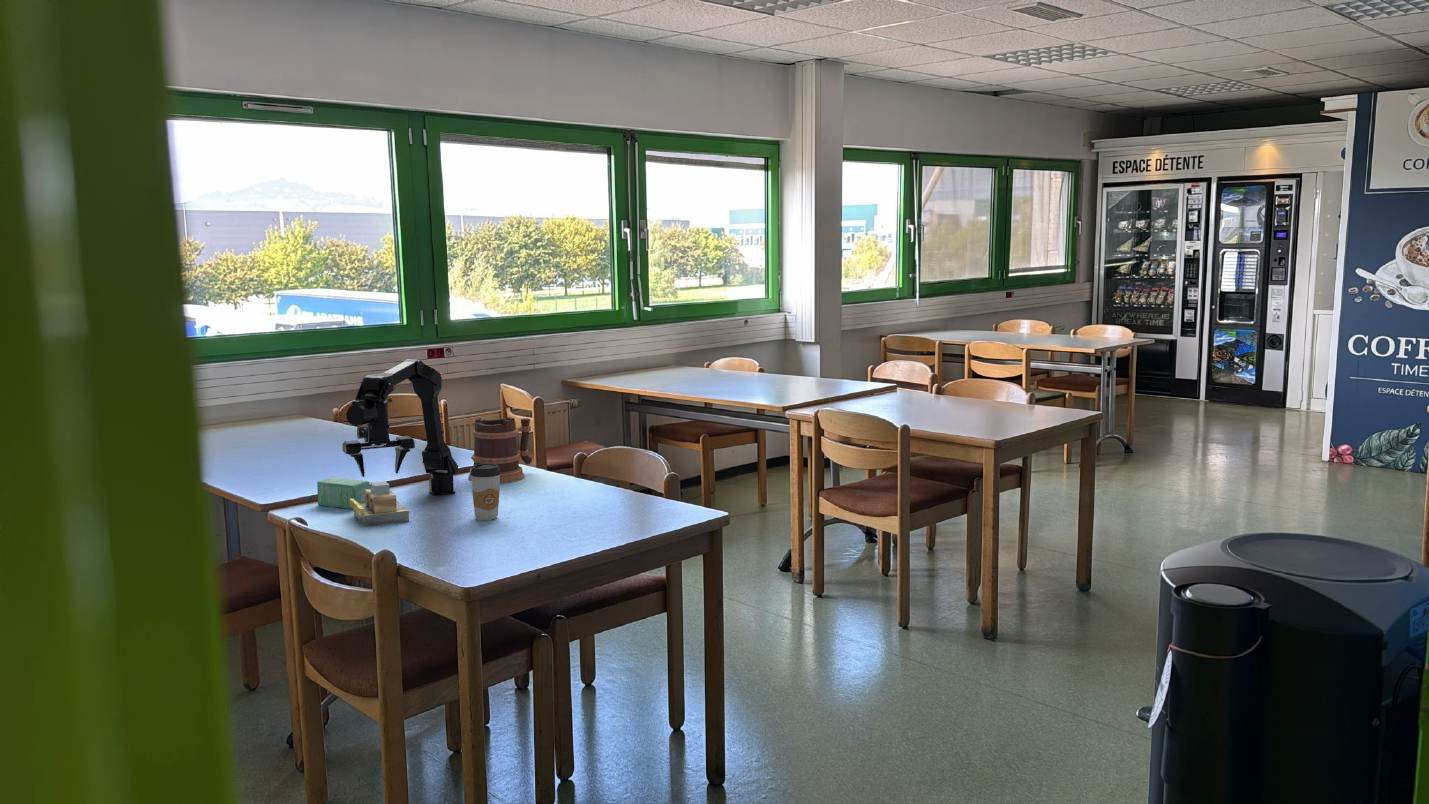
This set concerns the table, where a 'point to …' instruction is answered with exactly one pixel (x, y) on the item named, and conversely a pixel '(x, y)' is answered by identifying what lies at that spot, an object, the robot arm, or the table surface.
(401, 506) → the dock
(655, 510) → the table surface
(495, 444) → the mug
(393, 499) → the tan stepped block
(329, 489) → the box
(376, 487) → the grey blue block
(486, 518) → the coffee cup
